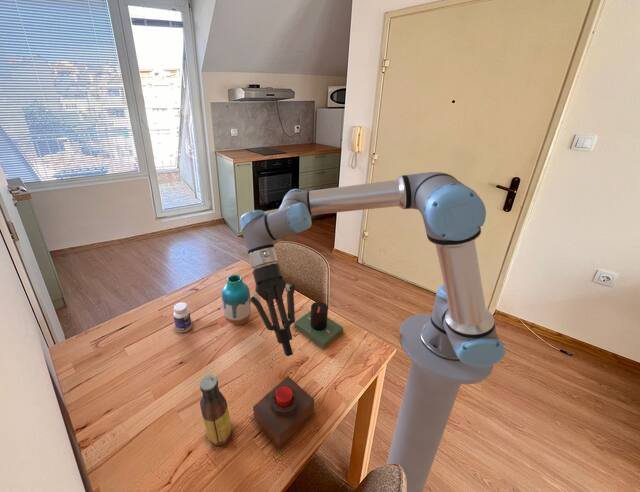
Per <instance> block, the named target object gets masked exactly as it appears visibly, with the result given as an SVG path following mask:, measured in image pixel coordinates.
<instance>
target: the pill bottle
mask: <svg viewBox="0 0 640 492" xmlns="http://www.w3.org/2000/svg"><path fill="white" fill-rule="evenodd" d="M172 315H173V320H174V326H175V330H176V331H177V332H178V333H185V332H188V331H189V330H190V329H191V328H192V319H191V311H190V308H188V304H187V303H186V302H182V301H181V302H178V303H176V304H174V306H173V314H172Z"/></svg>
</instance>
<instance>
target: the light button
mask: <svg viewBox="0 0 640 492" xmlns="http://www.w3.org/2000/svg"><path fill="white" fill-rule="evenodd" d="M276 403H277V404H278V405H279V406H281V407H287V406H289V405H290V404H291V403H292V391H291V389H290V388H289V387H287V386H281V387H279V388H278V389H277V390H276Z"/></svg>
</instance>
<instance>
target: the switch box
mask: <svg viewBox="0 0 640 492" xmlns="http://www.w3.org/2000/svg"><path fill="white" fill-rule="evenodd" d="M281 386H287V387H289V388H290V389H291V391H292V403H291V404H290V405H289V406H287V407H281V406H279V405H278V404H277V403H276V390H277V389H278V388H279V387H281ZM252 410H253V421H254V422H255V423H256V424H257V426H258V427H260V429H261V430H262V431H263V432H264V433H265V434H266V436H267V437H268V438H269V439H270V440H271V441H272V443H274V446H276V447H277V449H278V450H281V448H283V446H284V445H285V444H286V443H288V441H289V440H290V439H291V438H292V437H293V436H294V435H295V433H297V431H298V430H299V429H300V428H301V427H302V426H303V425H304V424H305V422H307V420H309V419H310V417H311V416H312V415H313V414H314V411H315V399H314V398H313V397H312V396H311V395H310V394H309V393H308V392H307V391H305V389H303V388H302V386H300V385H299V384H298V383H297V382H295V380H293V379H292V378H291V377H290V376H289V375H287V376H285V378H283V379H282V381H280V382H279V383H278V384H277V385H276V386H275V387H273V388H272V389H271V390H270V391H269V392H268V393H266V394H265V395H264V396H263V397H262V398H261V399H260V400H259V401H257V402H256V403H255V404H254V405H253V406H252Z"/></svg>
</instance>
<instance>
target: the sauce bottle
mask: <svg viewBox="0 0 640 492" xmlns="http://www.w3.org/2000/svg"><path fill="white" fill-rule="evenodd" d="M199 389H200V391H201V393H202V397H201V398H200V400H199V406H200V411H201V416H202V417H201V418H202V421H203V424H204V429H205V433H206V437H207V439H208V440H209V442H210V444H212V445H214V446H222V445H224V444H225V443H226V442H228V440H230V437H231V435H232V422H231V417H230V413H229V407H228V403H227V399H226V397H225V395H224V394H223V393H222V392H221V391H220V389H219V381H218V377H217V376H215V375H214V374H207V375H205V376H204V377H202V379H201V380H200V382H199Z"/></svg>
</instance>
